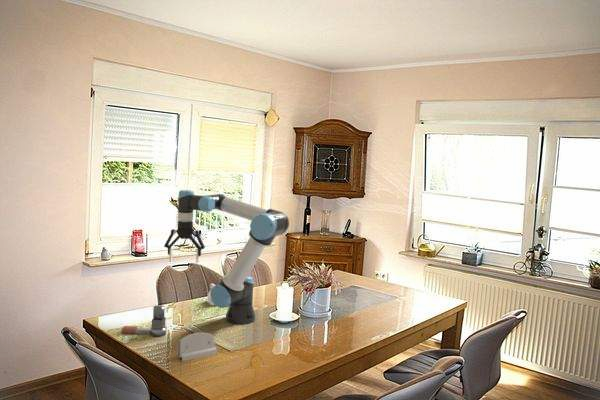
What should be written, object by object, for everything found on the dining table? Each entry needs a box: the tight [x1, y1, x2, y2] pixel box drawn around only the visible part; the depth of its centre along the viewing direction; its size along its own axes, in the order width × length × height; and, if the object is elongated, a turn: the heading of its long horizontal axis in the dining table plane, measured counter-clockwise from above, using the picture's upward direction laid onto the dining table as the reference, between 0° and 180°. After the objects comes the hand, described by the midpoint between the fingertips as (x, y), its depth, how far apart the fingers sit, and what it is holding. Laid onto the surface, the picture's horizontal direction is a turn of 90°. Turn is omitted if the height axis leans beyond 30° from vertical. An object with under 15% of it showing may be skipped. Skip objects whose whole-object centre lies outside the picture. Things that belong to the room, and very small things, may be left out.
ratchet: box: [121, 325, 167, 338], centre depth 244 cm, size 20×7×6 cm, turn 90°
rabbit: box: [206, 282, 216, 306], centre depth 295 cm, size 12×9×12 cm
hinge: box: [177, 332, 218, 362], centre depth 224 cm, size 17×5×10 cm, turn 128°
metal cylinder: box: [151, 304, 166, 330], centre depth 244 cm, size 5×5×10 cm
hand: (184, 261), depth 269 cm, fingers open, 13 cm apart
